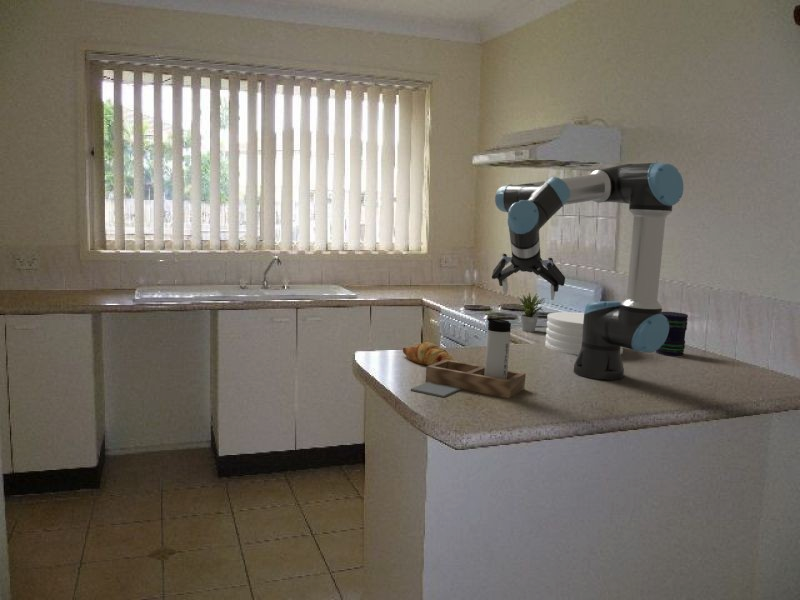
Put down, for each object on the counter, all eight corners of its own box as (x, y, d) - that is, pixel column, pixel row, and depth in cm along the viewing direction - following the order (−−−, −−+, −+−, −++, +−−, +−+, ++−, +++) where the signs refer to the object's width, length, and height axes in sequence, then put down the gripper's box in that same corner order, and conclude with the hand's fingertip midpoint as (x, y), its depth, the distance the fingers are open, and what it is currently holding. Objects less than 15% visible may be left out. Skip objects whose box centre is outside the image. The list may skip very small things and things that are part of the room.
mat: (460, 389, 192) (460, 388, 192) (443, 397, 183) (443, 395, 183) (428, 383, 197) (428, 381, 197) (410, 390, 188) (410, 388, 188)
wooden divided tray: (524, 389, 196) (525, 373, 196) (508, 398, 186) (509, 381, 185) (444, 374, 209) (445, 359, 208) (425, 381, 199) (426, 366, 198)
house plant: (544, 335, 282) (548, 295, 279) (510, 332, 285) (513, 292, 283) (547, 330, 295) (550, 291, 293) (514, 327, 299) (517, 289, 297)
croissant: (459, 378, 219) (468, 355, 221) (443, 368, 212) (452, 343, 214) (407, 364, 233) (415, 342, 235) (390, 354, 225) (399, 331, 227)
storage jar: (654, 354, 256) (659, 314, 254) (655, 349, 265) (659, 310, 263) (683, 358, 253) (688, 317, 250) (684, 353, 262) (688, 313, 260)
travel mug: (480, 385, 197) (485, 315, 195) (503, 386, 198) (508, 316, 195) (484, 391, 191) (489, 319, 188) (508, 392, 192) (513, 320, 189)
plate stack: (638, 356, 251) (641, 325, 249) (566, 357, 244) (569, 324, 242) (597, 341, 278) (600, 312, 276) (532, 340, 271) (535, 311, 269)
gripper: (575, 241, 184) (575, 287, 201) (482, 233, 192) (489, 278, 209) (571, 263, 180) (571, 309, 197) (476, 255, 188) (484, 299, 205)
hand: (529, 293), depth 203 cm, fingers open, 13 cm apart
